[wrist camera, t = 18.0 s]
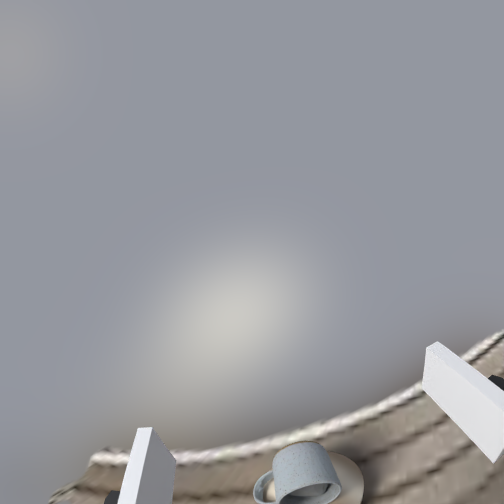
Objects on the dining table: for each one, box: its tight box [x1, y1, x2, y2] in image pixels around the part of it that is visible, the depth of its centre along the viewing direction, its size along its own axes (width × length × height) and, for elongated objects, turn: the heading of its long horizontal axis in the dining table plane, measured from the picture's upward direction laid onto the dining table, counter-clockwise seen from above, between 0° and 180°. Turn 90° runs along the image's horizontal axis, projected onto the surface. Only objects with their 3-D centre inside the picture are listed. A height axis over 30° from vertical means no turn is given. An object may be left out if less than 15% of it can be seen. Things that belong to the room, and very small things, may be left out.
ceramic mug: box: [253, 441, 342, 504], centre depth 25 cm, size 11×8×8 cm
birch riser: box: [263, 451, 364, 504], centre depth 26 cm, size 14×14×4 cm
